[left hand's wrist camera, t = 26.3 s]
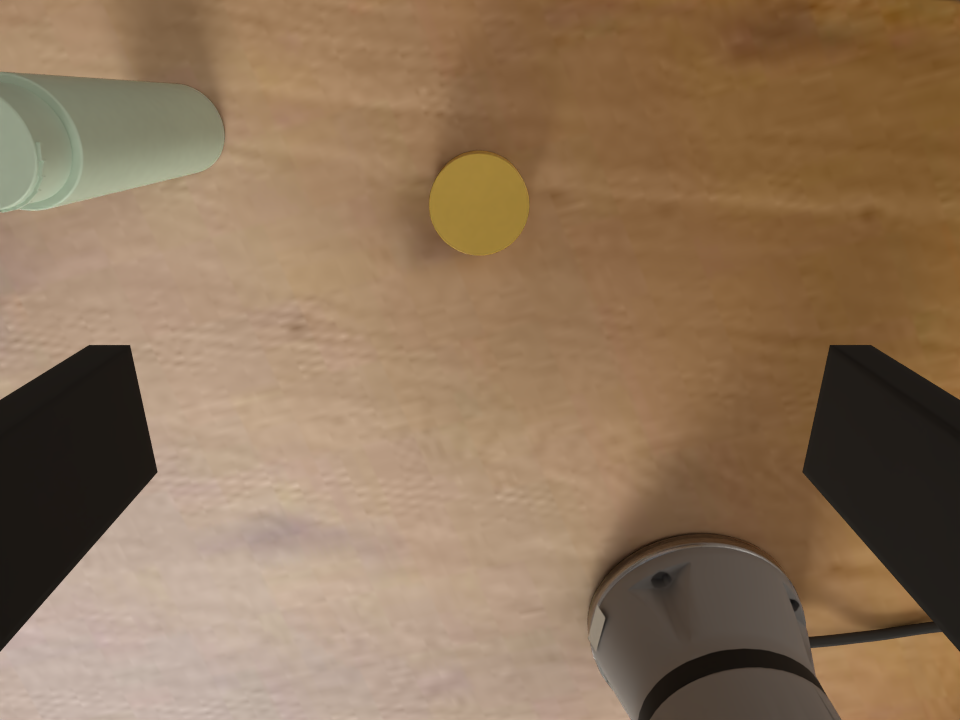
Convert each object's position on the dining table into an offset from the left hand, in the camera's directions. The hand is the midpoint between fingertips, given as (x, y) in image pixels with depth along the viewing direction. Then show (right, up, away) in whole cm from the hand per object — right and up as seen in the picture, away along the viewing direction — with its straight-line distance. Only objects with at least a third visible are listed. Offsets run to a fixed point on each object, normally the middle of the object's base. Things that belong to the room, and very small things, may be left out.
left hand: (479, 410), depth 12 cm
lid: (0, +9, +23) cm, 25 cm away
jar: (-16, +14, +23) cm, 31 cm away
